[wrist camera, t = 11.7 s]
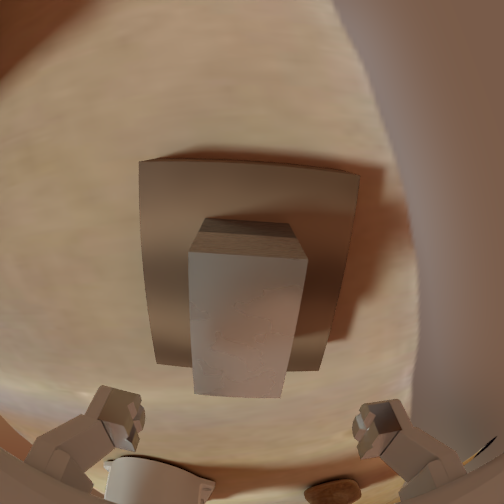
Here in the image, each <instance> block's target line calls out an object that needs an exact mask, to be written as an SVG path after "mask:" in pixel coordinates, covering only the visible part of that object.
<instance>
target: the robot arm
mask: <svg viewBox="0 0 504 504" xmlns="http://www.w3.org/2000/svg"><path fill="white" fill-rule="evenodd" d="M141 401H142V400H141V396H140V395H139V394H135V393H131V392H127V391H123V390H119V389H115V388H111V387H108V386H104V385H102V386H101V387H99V389H98V390H97V392H96V394H95V396H94V398H93V400H92V402H91V404H90V405H89V407H88V409H87V411H86V413H85V415H82V414H81V415H79V416H77V417H75V418H73V419H72V420H70V421H68V422H66V423H64V424H62V425H60V426H58V427H57V428H55V429H53V430H51V431H49V432H47V433H45V434H43V435H41V436H39V437H37V439H36V440H35V442H34V444H33V446H32V448H31V450H30V451H29V453H28V455H27V457H26V459H25V461H24V462H23V461H21V460H19V459H18V458H16V457H15V456H13V455H12V454H10V453H8V452H7V451H5V450H4V449H2V448H1V447H0V504H205V503H206V501H207V499H208V498H209V496H210V495H211V493H212V491H213V490H214V488H215V482H213V481H210V480H207V479H203V478H200V477H197V476H195V475H193V474H191V473H189V472H187V471H185V470H183V469H180V468H177V467H174V466H171V465H168V464H165V463H161V462H157V461H153V460H148V459H142V458H135V457H120V458H117V459H116V460H114V461H106V462H104V468H105V469H106V470H107V471H108V472H109V475H108V480H107V485H106V491H105V496H104V499H102V498H99V497H96V496H94V495H91V494H90V493H91V491H92V488H93V483H92V481H91V480H90V479H89V478H88V477H87V475H86V474H85V473H84V472H86V471H87V470H88V469H89V468H91V467H92V466H93V465H95V464H96V463H97V462H98V461H100V460H101V459H102V458H103V457H105V456H106V455H107V454H108V453H110V452H111V451H112V450H113V449H115V447H116V448H120V449H124V450H128V451H133V452H136V449H137V446H138V443H139V440H140V438H139V435H138V433H139V432H140V431H142V430H143V427H144V424H145V410H144V407H142V406H141V405H140V404H141ZM359 411H360V414H359V415H357V416H356V417H355V419H354V421H353V426H352V431H353V436H354V438H355V439H356V440H357V441H359V443H358V445H357V449H358V452H359V455H360V459H367V458H373V457H379V456H380V458H381V459H382V460H383V461H384V462H385V463H386V464H387V465H389V466H390V467H391V468H392V469H393V470H394V471H395V472H396V473H397V474H398V475H400V476H401V477H402V478H403V479H404V480H405V481H406V482H408V483H407V484H406V485H405V486H404V487H403V488H401V489H400V491H399V492H398V493H399V496H400V499H401V502H398V503H395V504H504V452H503V453H502V454H500V455H499V456H497V457H495V458H494V459H492V460H491V461H489V462H487V463H486V464H484V465H482V466H480V467H479V468H477V469H475V470H473V471H472V472H469V473H468V474H467V472H466V470H465V468H464V466H463V464H462V462H461V460H460V458H459V456H458V454H457V452H456V451H454V450H453V449H451V448H449V447H448V446H446V445H444V444H443V443H441V442H440V441H438V440H436V439H434V438H433V437H431V436H430V435H428V434H427V433H425V432H424V431H422V430H420V429H419V428H417V427H413V425H412V423H411V421H410V419H409V417H408V415H407V413H406V411H405V409H404V407H403V405H402V403H401V401H400V400H399V399H393V400H387V401H379V402H372V403H365V404H363V405H362V406H361V407H360V409H359Z"/></svg>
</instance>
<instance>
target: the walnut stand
mask: <svg viewBox="0 0 504 504" xmlns="http://www.w3.org/2000/svg"><path fill="white" fill-rule="evenodd" d="M359 181H360V176H359V175H356V174H353V173H350V172H346V171H343V170H336V169H329V168H321V167H312V166H303V165H294V164H283V163H272V162H259V161H243V160H223V159H151V160H146V161H141V162H139V210H140V232H141V247H142V260H143V271H144V281H145V290H146V299H147V306H148V314H149V321H150V328H151V334H152V340H153V346H154V352H155V357H156V362H157V364H163V365H172V366H181V367H191V368H193V367H192V352H191V335H190V313H189V276H188V251H189V249H190V247H191V245H192V243H193V241H194V239H195V237H196V235H197V233H198V231H199V229H200V227H201V225H202V223H203V221H204V219H205V218H218V219H234V220H249V221H263V222H276V223H289V225H290V227H291V228H292V230H293V232H294V234H295V236H296V238H297V239H298V241H299V243H300V245H301V247H302V249H303V251H304V252H305V254H306V256H307V258H308V264H307V270H306V276H305V282H304V287H303V293H302V298H301V304H300V309H299V314H298V319H297V324H296V329H295V334H294V339H293V344H292V348H291V353H290V358H289V362H288V367H287V371H319V368H320V365H321V361H322V358H323V355H324V351H325V348H326V344H327V340H328V337H329V333H330V329H331V325H332V322H333V318H334V314H335V310H336V306H337V301H338V297H339V293H340V288H341V284H342V279H343V275H344V270H345V265H346V260H347V255H348V250H349V245H350V239H351V234H352V228H353V222H354V216H355V210H356V203H357V196H358V189H359Z"/></svg>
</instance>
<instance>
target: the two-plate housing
mask: <svg viewBox="0 0 504 504" xmlns="http://www.w3.org/2000/svg"><path fill="white" fill-rule="evenodd" d="M307 264H308V258H307V256H306V254H305V252H304V251H303V249H302V247H301V245H300V243H299V241H298V239H297V238H296V236H295V234H294V232H293V230H292V228H291V227H290V225H289V223H276V222H263V221H249V220H234V219H218V218H205V219H204V221H203V223H202V225H201V227H200V229H199V231H198V233H197V235H196V237H195V239H194V241H193V243H192V245H191V247H190V249H189V251H188V276H189V313H190V335H191V352H192V367H193V380H194V392H195V394H200V395H211V396H225V397H245V398H280V396H281V392H282V388H283V384H284V380H285V375H286V371H287V367H288V362H289V358H290V353H291V348H292V344H293V339H294V334H295V329H296V324H297V319H298V314H299V309H300V304H301V298H302V293H303V287H304V282H305V276H306V270H307Z"/></svg>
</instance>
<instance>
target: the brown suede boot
mask: <svg viewBox="0 0 504 504" xmlns="http://www.w3.org/2000/svg"><path fill="white" fill-rule="evenodd" d="M304 495H305V499H306V500H307V501H308V502H309V503H310V504H352V503H354V502H355V501H357V500H358V499H360V498H361V490H360V488H359V485H358V484H357V482H356V481H354V480H352V479H342V480H336V481H331V482H327V483H324V484H320V485H317V486H314V487H311V488H308V489H307V490H306V491H305V492H304Z"/></svg>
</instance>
